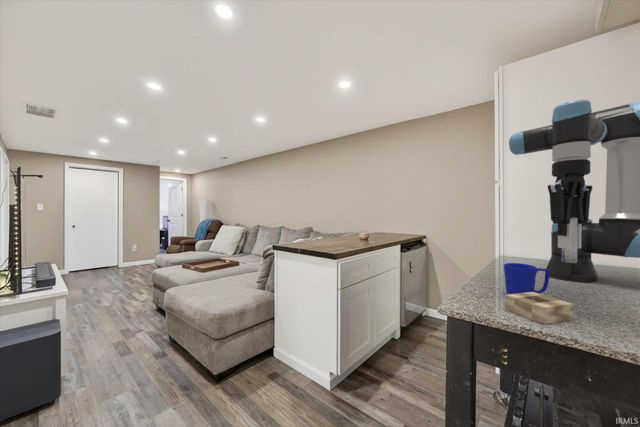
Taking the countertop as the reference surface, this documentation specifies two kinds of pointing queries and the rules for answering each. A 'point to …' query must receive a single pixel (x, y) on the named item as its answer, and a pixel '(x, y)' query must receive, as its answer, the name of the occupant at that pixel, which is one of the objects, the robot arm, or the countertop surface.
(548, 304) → the hole block
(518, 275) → the mug
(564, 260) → the peg
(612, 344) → the countertop surface
